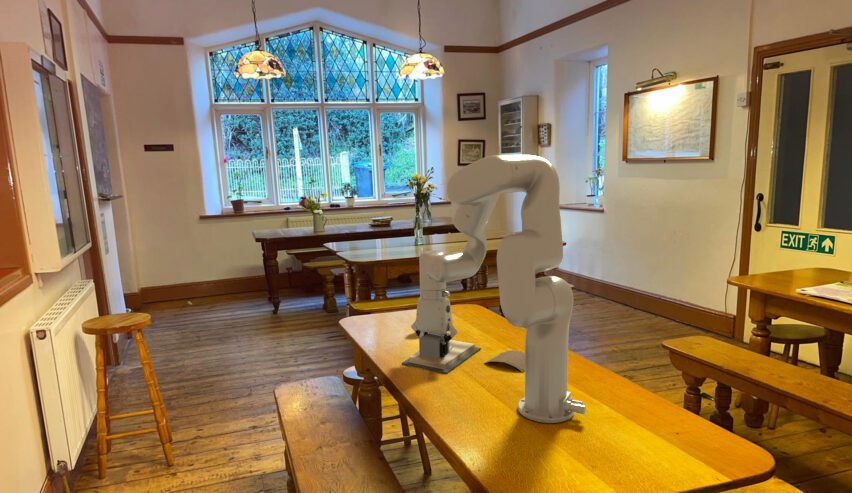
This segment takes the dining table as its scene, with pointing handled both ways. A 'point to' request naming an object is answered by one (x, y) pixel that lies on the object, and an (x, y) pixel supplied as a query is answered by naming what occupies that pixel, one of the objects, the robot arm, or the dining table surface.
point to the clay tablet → (512, 359)
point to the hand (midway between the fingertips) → (434, 353)
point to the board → (445, 358)
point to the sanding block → (430, 347)
